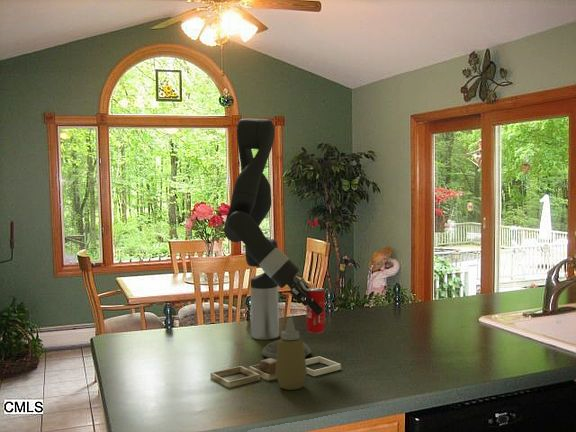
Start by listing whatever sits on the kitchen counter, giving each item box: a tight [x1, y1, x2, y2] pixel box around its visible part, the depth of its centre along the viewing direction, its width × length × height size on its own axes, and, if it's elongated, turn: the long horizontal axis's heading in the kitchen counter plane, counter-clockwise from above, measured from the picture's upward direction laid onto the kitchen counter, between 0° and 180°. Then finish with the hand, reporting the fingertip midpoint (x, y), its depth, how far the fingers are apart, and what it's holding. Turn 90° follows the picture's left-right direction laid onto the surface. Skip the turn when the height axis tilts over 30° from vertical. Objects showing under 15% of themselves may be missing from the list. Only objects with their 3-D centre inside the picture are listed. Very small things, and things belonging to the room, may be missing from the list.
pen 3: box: [305, 355, 342, 377], centre depth 169 cm, size 10×10×2 cm
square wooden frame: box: [248, 363, 278, 382], centre depth 167 cm, size 10×10×2 cm
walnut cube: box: [259, 357, 277, 374], centre depth 165 cm, size 4×4×4 cm
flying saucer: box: [261, 338, 312, 359], centre depth 183 cm, size 15×15×6 cm
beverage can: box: [305, 287, 326, 334], centre depth 168 cm, size 5×5×12 cm
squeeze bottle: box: [276, 316, 307, 391], centre depth 155 cm, size 8×8×18 cm
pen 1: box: [210, 365, 261, 389], centre depth 162 cm, size 10×10×2 cm
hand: (321, 310), depth 168 cm, fingers closed on beverage can, 5 cm apart
